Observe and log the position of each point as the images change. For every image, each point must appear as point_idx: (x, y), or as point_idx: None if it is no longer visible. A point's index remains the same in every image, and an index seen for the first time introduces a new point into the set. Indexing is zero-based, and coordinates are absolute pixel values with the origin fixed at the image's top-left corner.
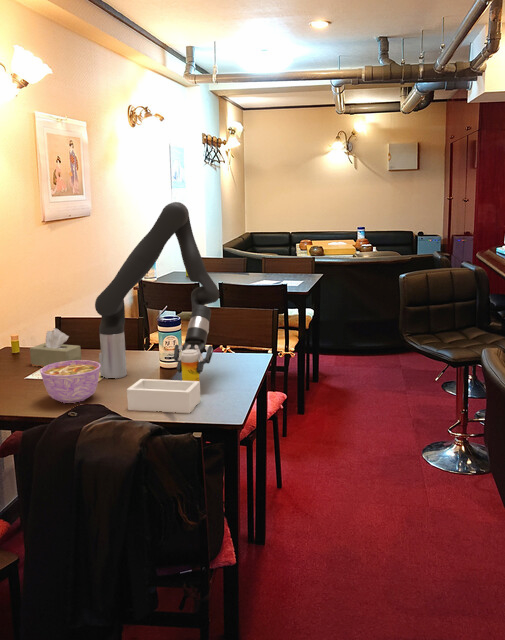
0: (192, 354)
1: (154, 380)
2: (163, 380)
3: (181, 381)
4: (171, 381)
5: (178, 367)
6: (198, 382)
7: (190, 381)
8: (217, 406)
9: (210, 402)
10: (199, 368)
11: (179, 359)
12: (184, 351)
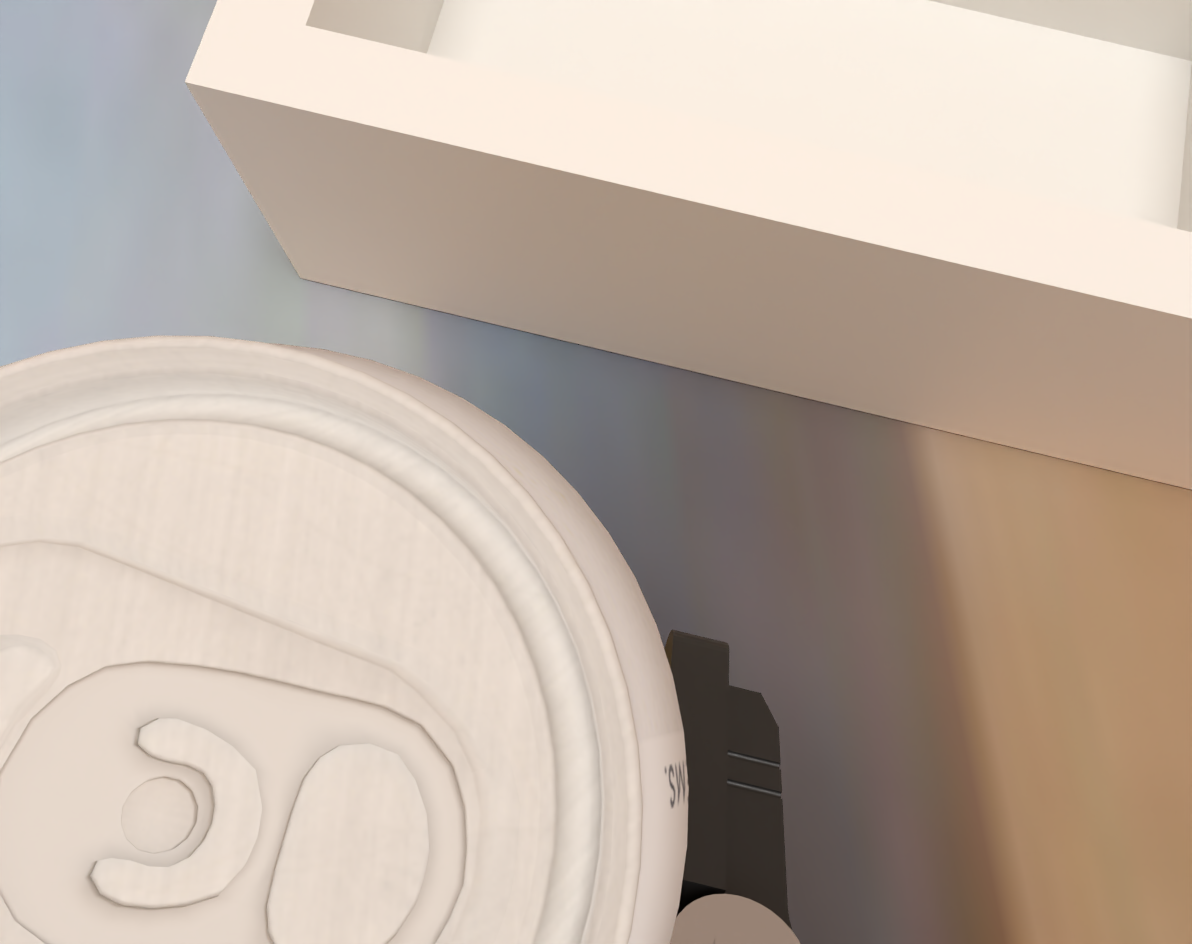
0: (36, 382)
1: (1154, 240)
2: (963, 221)
3: (571, 113)
4: (781, 139)
5: (721, 685)
6: (213, 14)
7: (381, 93)
8: (72, 59)
9: (156, 221)
10: None
11: (745, 924)
12: (492, 938)
